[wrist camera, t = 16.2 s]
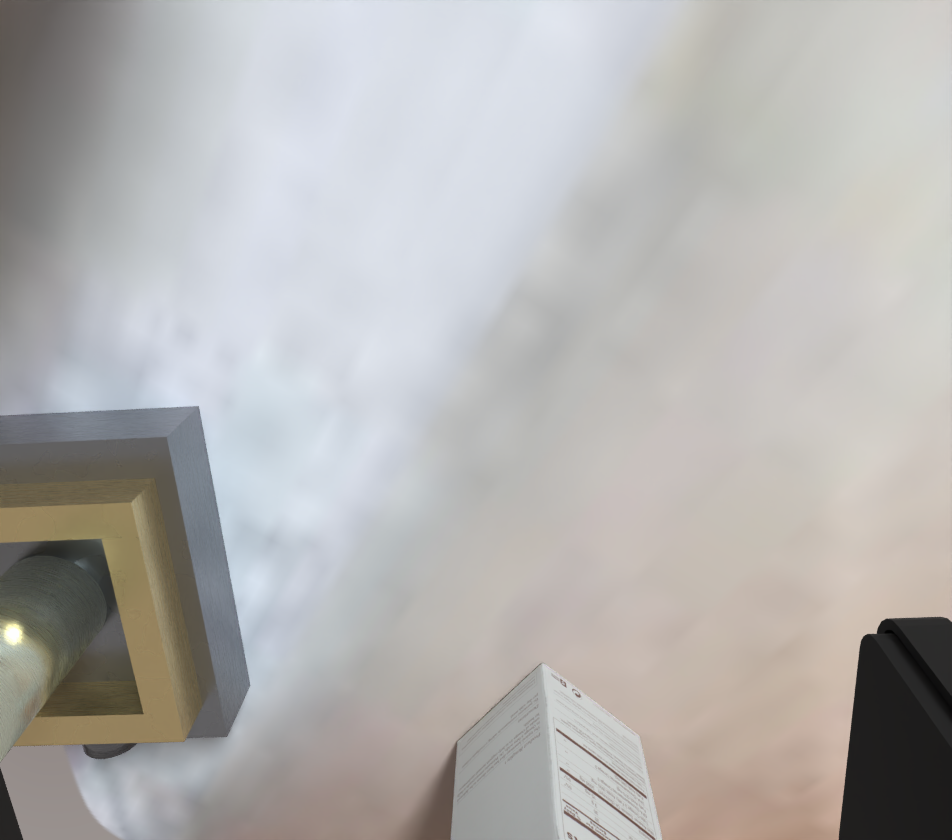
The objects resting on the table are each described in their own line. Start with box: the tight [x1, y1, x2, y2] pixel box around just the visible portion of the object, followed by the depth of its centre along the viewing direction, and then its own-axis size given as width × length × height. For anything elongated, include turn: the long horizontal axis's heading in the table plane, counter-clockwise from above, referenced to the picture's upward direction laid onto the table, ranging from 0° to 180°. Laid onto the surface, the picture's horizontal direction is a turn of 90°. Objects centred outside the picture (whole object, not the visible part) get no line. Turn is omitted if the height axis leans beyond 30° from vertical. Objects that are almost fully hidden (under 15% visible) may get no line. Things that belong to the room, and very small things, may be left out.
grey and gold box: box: [0, 406, 250, 759], centre depth 40 cm, size 18×14×6 cm
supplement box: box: [451, 663, 663, 840], centre depth 40 cm, size 7×7×13 cm
